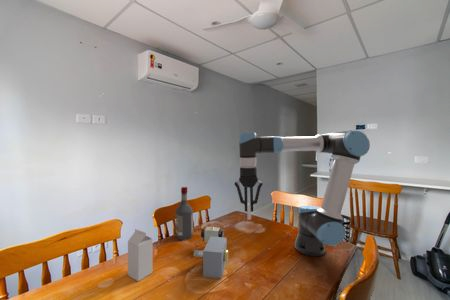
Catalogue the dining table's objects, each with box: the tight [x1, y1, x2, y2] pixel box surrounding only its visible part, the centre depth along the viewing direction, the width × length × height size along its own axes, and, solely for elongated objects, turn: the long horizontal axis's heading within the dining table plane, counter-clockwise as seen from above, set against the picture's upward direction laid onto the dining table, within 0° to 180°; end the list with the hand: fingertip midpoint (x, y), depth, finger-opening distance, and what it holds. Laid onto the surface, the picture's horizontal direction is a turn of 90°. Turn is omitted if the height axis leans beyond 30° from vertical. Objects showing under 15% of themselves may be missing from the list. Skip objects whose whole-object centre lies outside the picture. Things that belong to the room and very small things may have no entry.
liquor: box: [174, 186, 194, 241], centre depth 125 cm, size 9×9×30 cm
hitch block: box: [202, 236, 228, 279], centre depth 94 cm, size 8×14×11 cm, turn 171°
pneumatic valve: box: [200, 226, 225, 243], centre depth 112 cm, size 6×12×12 cm, turn 79°
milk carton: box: [127, 228, 154, 282], centre depth 89 cm, size 7×7×19 cm
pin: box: [193, 249, 229, 263], centre depth 94 cm, size 16×5×5 cm, turn 81°
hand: (249, 218), depth 94 cm, fingers closed
